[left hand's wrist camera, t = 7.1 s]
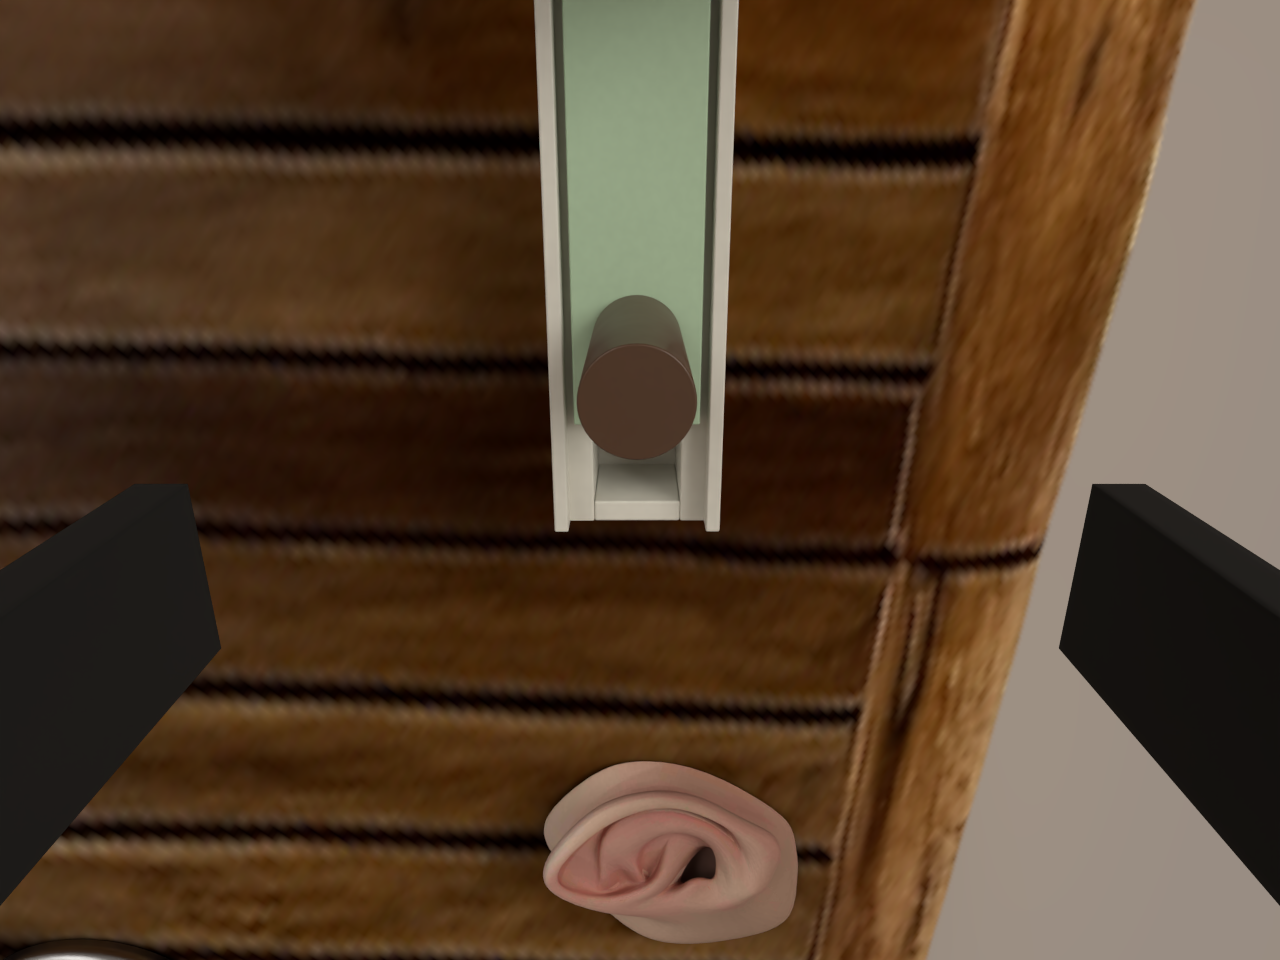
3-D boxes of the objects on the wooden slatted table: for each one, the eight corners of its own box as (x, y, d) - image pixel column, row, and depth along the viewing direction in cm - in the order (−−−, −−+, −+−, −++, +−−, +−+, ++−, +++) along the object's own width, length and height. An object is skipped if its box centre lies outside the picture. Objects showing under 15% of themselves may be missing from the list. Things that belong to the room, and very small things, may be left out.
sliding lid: (698, 418, 30) (721, 514, 22) (575, 418, 30) (552, 515, 22) (711, -110, 25) (749, -247, 16) (560, -111, 24) (521, -248, 16)
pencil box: (706, 474, 36) (719, 531, 31) (567, 474, 36) (554, 532, 31) (726, -208, 28) (750, -302, 22) (545, -208, 28) (521, -302, 22)
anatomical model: (851, 968, 41) (640, 1044, 43) (833, 901, 45) (639, 973, 46) (736, 769, 37) (507, 863, 38) (726, 713, 40) (518, 802, 42)
